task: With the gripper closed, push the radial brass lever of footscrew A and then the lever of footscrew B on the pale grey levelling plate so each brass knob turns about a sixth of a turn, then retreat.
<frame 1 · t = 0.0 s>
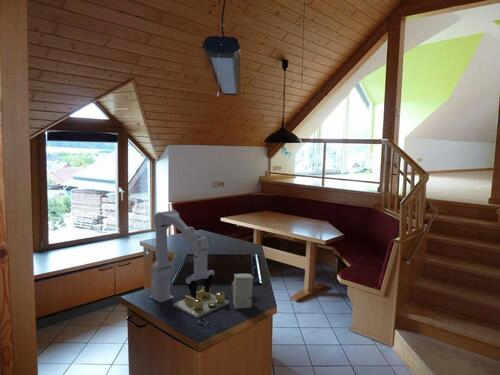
hand: (200, 294, 155), 10 cm above the counter, fingers open, 7 cm apart
knob A: (200, 293, 173), point 4 cm above the counter, hinge at 0.0°
levelling plate: (201, 305, 168), on the counter
skincare box: (242, 306, 168), on the counter
knob B: (193, 301, 164), point 4 cm above the counter, hinge at 0.0°
ceramic mug: (240, 296, 179), on the counter
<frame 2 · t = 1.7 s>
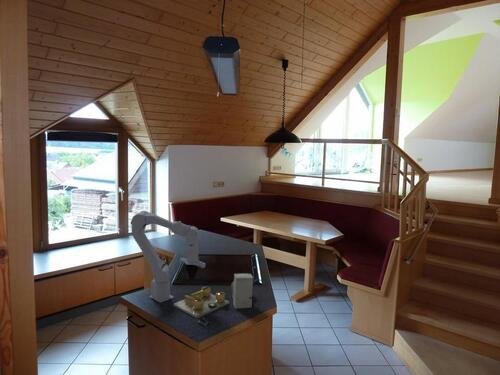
hand: (192, 279, 174), 10 cm above the counter, fingers closed
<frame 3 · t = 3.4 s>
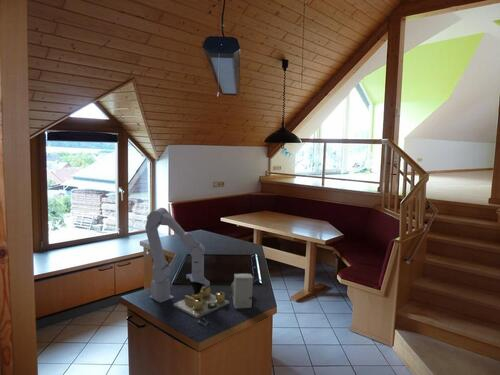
hand: (197, 296, 172), 2 cm above the counter, fingers closed, pressing on knob A
knob A: (201, 293, 172), point 4 cm above the counter, hinge at 4.8°, touching gripper
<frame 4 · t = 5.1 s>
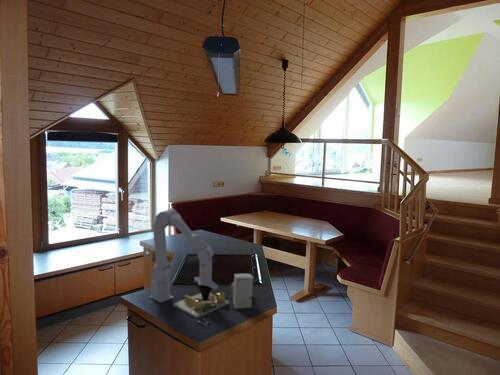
hand: (205, 300, 168), 2 cm above the counter, fingers closed
knob A: (208, 294, 172), point 4 cm above the counter, hinge at 69.8°
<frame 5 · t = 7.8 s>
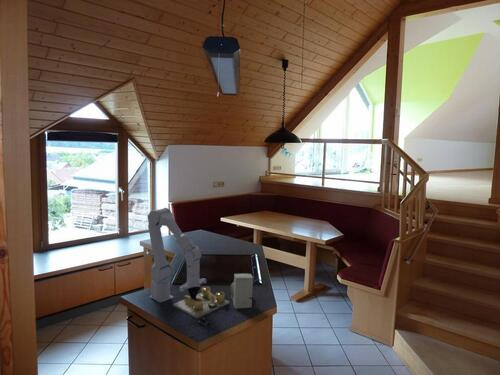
hand: (193, 301, 166), 2 cm above the counter, fingers closed, pressing on knob B
knob B: (193, 301, 164), point 4 cm above the counter, hinge at 0.1°, touching gripper
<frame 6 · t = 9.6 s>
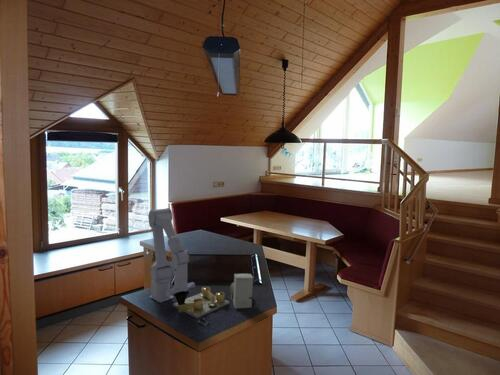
hand: (180, 306, 161), 2 cm above the counter, fingers closed
knob B: (190, 305, 160), point 4 cm above the counter, hinge at 69.0°
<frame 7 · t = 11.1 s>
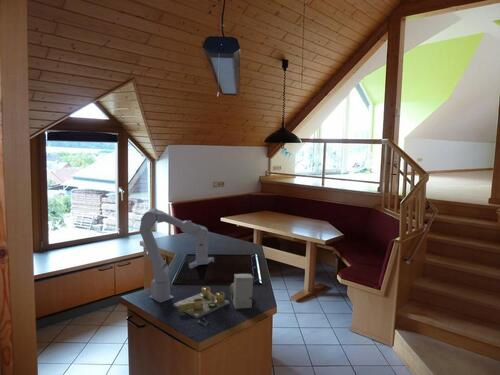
hand: (201, 278, 174), 10 cm above the counter, fingers closed
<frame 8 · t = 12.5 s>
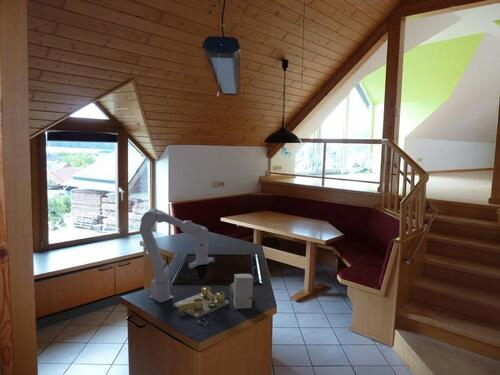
hand: (201, 278, 174), 10 cm above the counter, fingers closed
at the end: knob A at +70° (first picture: +0°); knob B at +69° (first picture: +0°) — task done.
